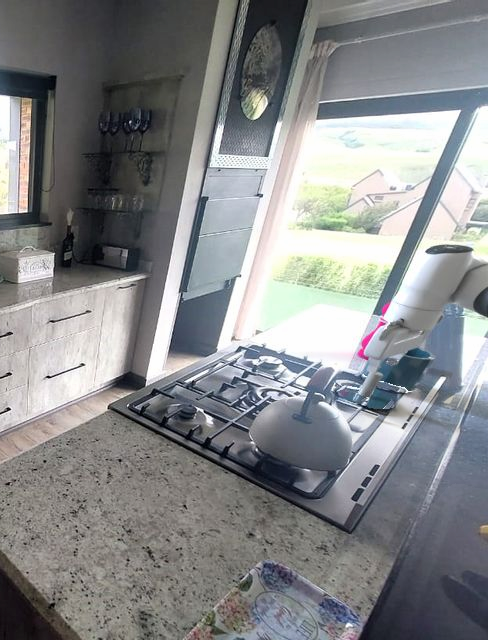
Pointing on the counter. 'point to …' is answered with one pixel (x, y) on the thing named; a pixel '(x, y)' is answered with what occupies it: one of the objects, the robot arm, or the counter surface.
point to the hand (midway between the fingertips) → (381, 368)
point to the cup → (405, 369)
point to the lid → (367, 392)
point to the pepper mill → (368, 337)
